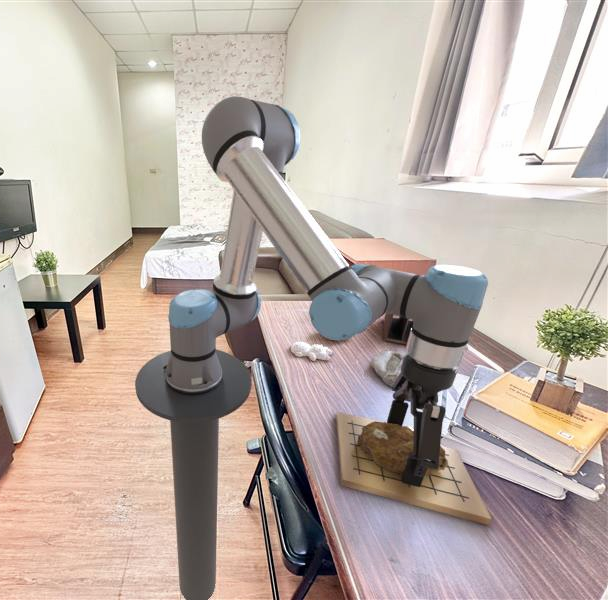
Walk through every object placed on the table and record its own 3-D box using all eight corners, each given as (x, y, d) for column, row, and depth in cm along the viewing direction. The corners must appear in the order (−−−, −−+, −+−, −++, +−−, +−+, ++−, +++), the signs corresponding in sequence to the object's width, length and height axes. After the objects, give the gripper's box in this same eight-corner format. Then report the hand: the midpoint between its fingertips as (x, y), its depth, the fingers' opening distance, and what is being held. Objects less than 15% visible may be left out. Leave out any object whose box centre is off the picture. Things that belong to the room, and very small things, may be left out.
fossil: (380, 352, 98) (381, 343, 97) (416, 362, 92) (418, 353, 91) (362, 378, 86) (364, 369, 85) (403, 392, 80) (405, 382, 79)
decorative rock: (426, 437, 64) (350, 431, 66) (430, 421, 63) (352, 416, 65) (460, 486, 54) (369, 477, 56) (466, 467, 52) (372, 459, 54)
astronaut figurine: (327, 365, 91) (328, 356, 90) (287, 353, 97) (288, 345, 96) (333, 352, 98) (334, 343, 97) (295, 342, 104) (296, 334, 103)
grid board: (341, 485, 56) (342, 479, 55) (335, 416, 72) (337, 411, 71) (488, 525, 49) (492, 518, 49) (447, 440, 65) (449, 434, 65)
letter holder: (383, 341, 105) (393, 302, 99) (384, 318, 121) (392, 284, 116) (418, 348, 100) (430, 308, 95) (413, 324, 116) (423, 289, 111)
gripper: (496, 414, 40) (448, 522, 48) (432, 329, 62) (406, 412, 70) (429, 401, 42) (393, 507, 50) (390, 323, 64) (370, 405, 72)
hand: (401, 452), depth 60 cm, fingers open, 13 cm apart
